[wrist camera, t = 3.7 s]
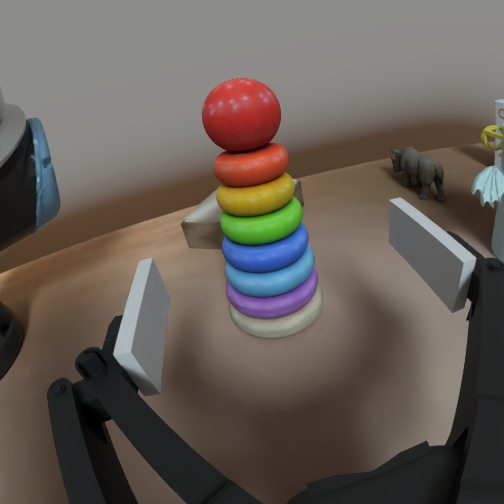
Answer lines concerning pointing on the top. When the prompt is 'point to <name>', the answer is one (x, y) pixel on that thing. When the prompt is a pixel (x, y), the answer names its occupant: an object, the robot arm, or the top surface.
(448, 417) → the top surface
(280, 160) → the stacking toy
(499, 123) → the small box
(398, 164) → the rhino figurine
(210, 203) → the pedestal
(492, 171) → the character sculpture
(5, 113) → the robot arm
